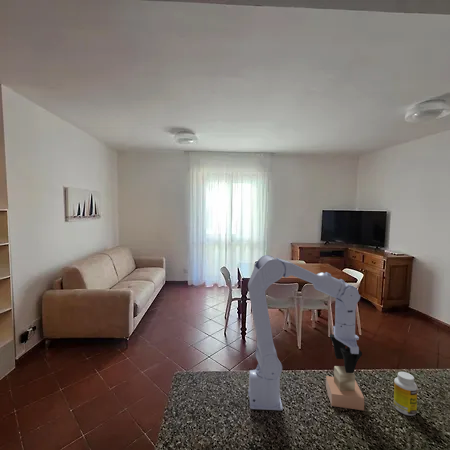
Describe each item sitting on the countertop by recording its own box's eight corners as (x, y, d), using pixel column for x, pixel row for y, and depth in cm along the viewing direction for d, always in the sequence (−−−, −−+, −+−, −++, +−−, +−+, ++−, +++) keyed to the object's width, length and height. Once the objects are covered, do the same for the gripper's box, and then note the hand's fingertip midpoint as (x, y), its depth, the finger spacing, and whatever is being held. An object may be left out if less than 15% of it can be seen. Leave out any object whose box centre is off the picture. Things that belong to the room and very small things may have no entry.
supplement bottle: (411, 419, 72) (412, 383, 71) (390, 407, 76) (390, 373, 76) (420, 411, 75) (420, 377, 74) (398, 400, 79) (399, 367, 79)
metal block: (339, 390, 78) (340, 374, 78) (333, 381, 83) (334, 366, 83) (354, 391, 78) (355, 374, 78) (348, 381, 83) (348, 366, 82)
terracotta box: (331, 407, 77) (331, 393, 77) (325, 387, 86) (325, 375, 86) (364, 411, 75) (364, 398, 75) (354, 391, 84) (355, 379, 84)
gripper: (370, 332, 72) (369, 380, 73) (348, 313, 87) (347, 353, 87) (344, 331, 73) (343, 378, 73) (327, 313, 87) (326, 352, 87)
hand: (344, 365), depth 80 cm, fingers open, 7 cm apart
